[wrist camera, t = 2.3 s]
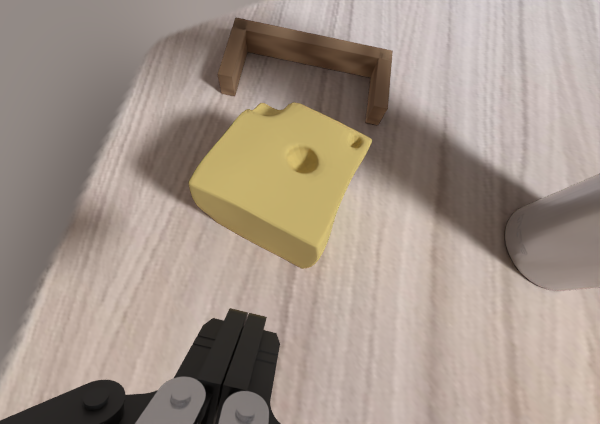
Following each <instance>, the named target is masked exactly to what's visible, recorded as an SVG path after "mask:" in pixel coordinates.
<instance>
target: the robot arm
mask: <svg viewBox="0 0 600 424" xmlns="http://www.w3.org/2000/svg"><path fill="white" fill-rule="evenodd" d="M505 241H506V247H507V250H508V253H509V255H510V257H511V259H512V261H513V263H514V264H515V266H516V267H517V268H518V270H519V271H520V272H521V273H522V274H523V275H524V276H525V277H526V278H527V279H529V280H530V281H531V282H533V283H535V284H536V285H538V286H540V287H543V288H545V289H548V290H554V291H565V290H576V289H587V288H600V174H597V175H595V176H593V177H590V178H588V179H586V180H584V181H581V182H579V183H577V184H574V185H572V186H570V187H567V188H565V189H563V190H561V191H558V192H556V193H553V194H551V195H549V196H547V197H544V198H542V199H540V200H537V201H535V202H533V203H531V204H528V205H526V206H524V207H522V208H520V209H518V210H516V211H515V212H514V213H513V214H512V215H511V217H510V219H509V220H508V222H507V226H506V230H505ZM247 315H248V317H247ZM266 318H267V317H264V316H260V315H256V314H252V313H249V314H248V312H243V311H239V310H235V309H231V308H230V309H229V311H228V313H227V315H226V318H225V320H224V321H223V320H219V319H215V318H213V319H211V320H210V321H208V322H207V323H206V324H204V325H203V326H202V328H201V330H200V332H199V334H198V336H197V337H196V339H195V341H194V343H193V345H192V346H191V348H190V350H189V352H188V353H187V355H186V357H185V359H184V361H183V362H182V364H181V366H180V368H179V370H178V371H177V373H176V375H175V377H174V378H173V379H171V380H169V381H167V382H166V383H164V384H163V385H162V386H161V387H160V388H159V390H157V391H155V392H151V393H146V394H133V395H125V391H124V388H123V387H122V386H121V385H120V384H119V383H117V382H115V381H112V380H98V381H93V382H90V383H88V384H85V385H83V386H80V387H78V388H76V389H73V390H71V391H69V392H66V393H64V394H62V395H59V396H57V397H55V398H52V399H50V400H48V401H45V402H43V403H41V404H38V405H36V406H33V407H31V408H29V409H26V410H24V411H22V412H19V413H17V414H15V415H12V416H10V417H8V418H5V419H3V420H1V421H0V424H280V423H279V422H278V421H277V419H276V418H275V417H274V415H273V413H272V410H271V407H270V398H271V393H272V387H273V381H274V375H275V369H276V363H277V358H278V352H279V346H280V343H279V340H278V337H277V334H276V333H273V332H269V331H265V330H264V326H265V322H266Z"/></svg>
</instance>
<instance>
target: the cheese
mask: <svg viewBox="0 0 600 424" xmlns="http://www.w3.org/2000/svg"><path fill="white" fill-rule="evenodd" d="M371 142H372V139H371V138H369V137H367V136H365V135H363V134H361V133H359V132H358V131H356V130H354V129H352V128H350V127H348V126H346V125H344V124H342V123H340V122H338V121H336V120H334V119H332V118H330V117H328V116H326V115H323V114H321V113H319V112H317V111H315V110H313V109H310V108H308V107H306V106H304V105H302V104H299V103H291V104H288V105H287V107H286V108H285V109H283V110H277V109H274V108H272V107H270V106H268V105H267V104H264V103H260V104H259V105H258V106H257V107H256V108H255V109H254V110H250V109H247V110H245V111H244V112H242V113H241V114H240V115H239V116H238V117H237V119H236V120H235V121H234V122H233V124H232V125H231V126H230V127H229V129H228V130H227V131H226V132H225V134H224V135H223V136H222V137H221V138H220V140H219V141H218V142H217V143H216V144H215V145H214V146H213V148H212V149H211V150H210V151H209V153H208V154H207V155H206V156H205V157H204V159H203V160H202V161H201V163H200V164H199V165H198V167H197V168H196V170H195V171H194V173H193V175H192V177H191V178H190V180H189V188H190V192H191V195H192V197H193V200H194V201H195V203H196V205H197V206H198V207H199V208H200V209H201V210H202V211H204V212H205V213H206V214H208V215H209V216H210V217H212V218H213V219H214V220H215V221H216V222H217V223H219V224H221V225H222V226H224V227H226V228H228V229H229V230H231V231H233V232H235V233H236V234H238V235H240V236H242V237H243V238H245V239H247V240H249V241H251V242H252V243H254V244H256V245H258V246H260V247H262V248H264V249H266V250H268V251H270V252H272V253H274V254H276V255H278V256H280V257H281V258H283V259H285V260H287V261H289V262H291V263H292V264H294V265H296V266H298V267H300V268H302V269H304V268H309V267H311V266H313V265H314V264H315V263H316V262H317V261H318V260H319V258H320V257H321V255H322V253H323V251H324V249H325V247H326V244H327V242H328V239H329V236H330V233H331V229H332V226H333V222H334V219H335V216H336V213H337V210H338V208H339V205H340V203H341V200H342V198H343V196H344V194H345V191H346V189H347V187H348V185H349V183H350V181H351V179H352V177H353V175H354V174H355V172H356V170H357V168H358V167H359V165H360V164H361V162H362V160H363V159H364V157H365V155H366V153H367V151H368V149H369V147H370V145H371Z"/></svg>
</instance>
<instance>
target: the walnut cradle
mask: <svg viewBox="0 0 600 424" xmlns="http://www.w3.org/2000/svg"><path fill="white" fill-rule="evenodd" d="M247 52H250V53H255V54H259V55H264V56H269V57H274V58H279V59H283V60H288V61H293V62H298V63H303V64H307V65H312V66H317V67H322V68H327V69H331V70H336V71H341V72H346V73H351V74H356V75H360V76H365V77H370V85H369V94H368V103H367V112H366V121H365V123H370V124H375V125H379V123H380V121H381V119H382V118H383V116H384V114H385V112H386V111H387V109H388V99H389V87H390V75H391V63H392V51H391V50H386V49H382V48H377V47H372V46H368V45H363V44H358V43H353V42H349V41H344V40H339V39H335V38H330V37H325V36H320V35H316V34H311V33H306V32H302V31H297V30H292V29H287V28H283V27H278V26H273V25H269V24H264V23H259V22H254V21H250V20H245V19H240V18H235V21H234V24H233V27H232V30H231V33H230V37H229V40H228V43H227V46H226V49H225V52H224V56H223V59H222V62H221V65H220V68H219V71H218V78H219V83H220V88H221V93H222V94H226V95H231V96H235V94H236V91H237V87H238V84H239V80H240V77H241V73H242V70H243V66H244V63H245V59H246V56H247Z"/></svg>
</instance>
